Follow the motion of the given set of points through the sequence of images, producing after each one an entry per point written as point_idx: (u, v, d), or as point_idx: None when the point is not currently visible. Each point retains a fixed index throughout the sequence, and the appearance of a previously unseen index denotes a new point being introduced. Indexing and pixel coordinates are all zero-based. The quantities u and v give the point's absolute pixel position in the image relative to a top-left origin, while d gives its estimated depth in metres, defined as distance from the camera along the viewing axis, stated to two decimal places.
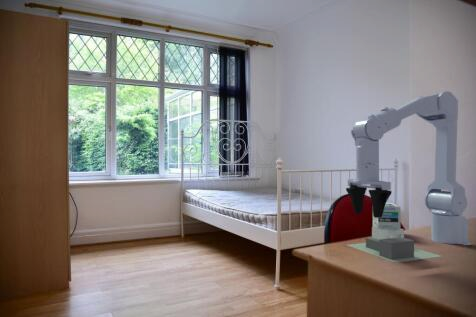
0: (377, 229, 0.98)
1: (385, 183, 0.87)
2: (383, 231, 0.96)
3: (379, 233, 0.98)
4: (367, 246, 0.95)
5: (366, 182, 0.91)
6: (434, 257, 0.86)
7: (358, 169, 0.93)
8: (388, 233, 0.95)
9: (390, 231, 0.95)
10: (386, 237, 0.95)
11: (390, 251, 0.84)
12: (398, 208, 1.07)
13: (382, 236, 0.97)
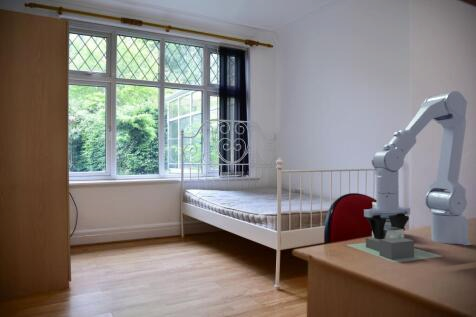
0: None
1: (364, 210, 0.97)
2: (383, 231, 0.96)
3: None
4: (367, 246, 0.95)
5: None
6: (434, 257, 0.86)
7: None
8: (388, 233, 0.95)
9: (390, 231, 0.95)
10: (386, 237, 0.95)
11: (390, 251, 0.84)
12: None
13: None
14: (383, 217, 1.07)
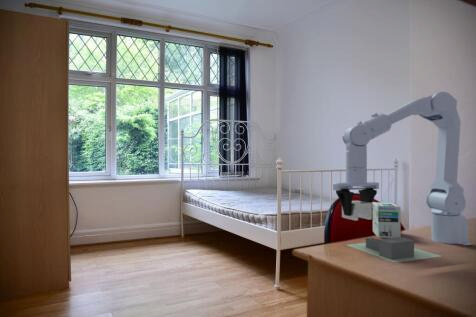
0: None
1: (333, 184, 1.00)
2: (351, 204, 0.99)
3: None
4: (367, 246, 0.95)
5: None
6: (434, 257, 0.86)
7: None
8: (356, 206, 0.98)
9: (358, 204, 0.98)
10: (354, 210, 0.98)
11: (390, 251, 0.84)
12: (398, 208, 1.07)
13: None
14: (383, 217, 1.07)
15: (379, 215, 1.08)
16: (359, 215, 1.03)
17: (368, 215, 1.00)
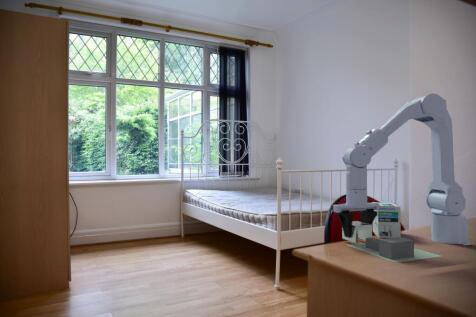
0: None
1: (333, 206, 0.99)
2: (352, 226, 0.99)
3: None
4: (367, 246, 0.95)
5: None
6: (434, 257, 0.86)
7: None
8: (356, 228, 0.97)
9: (358, 226, 0.98)
10: (354, 232, 0.98)
11: (390, 251, 0.84)
12: (398, 208, 1.07)
13: None
14: (383, 217, 1.07)
15: (379, 215, 1.08)
16: (359, 236, 1.03)
17: (368, 237, 0.99)
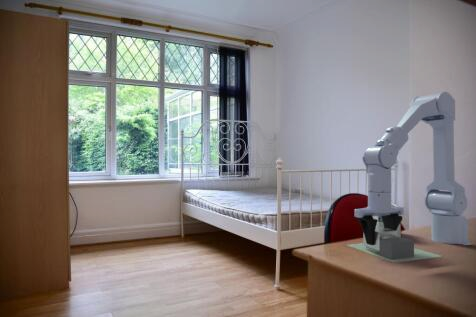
0: None
1: (355, 210, 0.91)
2: (375, 233, 0.90)
3: None
4: None
5: None
6: (434, 257, 0.86)
7: None
8: (380, 235, 0.89)
9: (382, 233, 0.89)
10: (378, 239, 0.89)
11: (390, 251, 0.84)
12: None
13: None
14: None
15: None
16: None
17: None
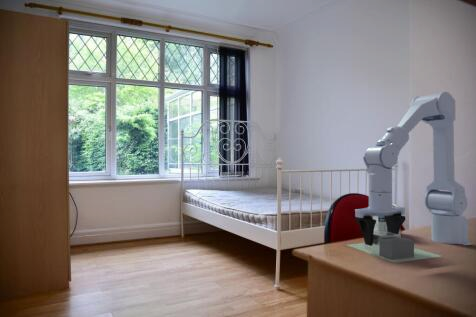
0: None
1: (355, 210, 0.90)
2: (375, 236, 0.90)
3: None
4: None
5: None
6: (434, 257, 0.86)
7: None
8: (381, 238, 0.89)
9: (383, 236, 0.89)
10: None
11: (390, 251, 0.84)
12: None
13: (374, 242, 0.90)
14: (383, 217, 1.07)
15: None
16: None
17: None
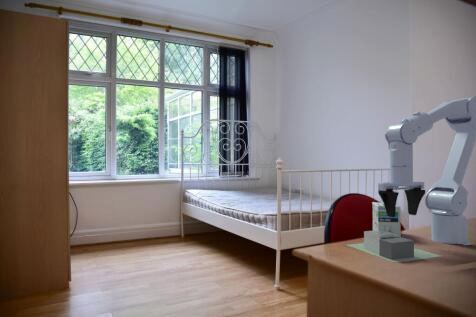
0: (369, 234, 0.92)
1: (379, 184, 0.96)
2: (375, 236, 0.90)
3: (371, 238, 0.91)
4: None
5: None
6: (434, 257, 0.86)
7: None
8: (381, 238, 0.89)
9: (383, 236, 0.89)
10: None
11: (390, 251, 0.84)
12: (398, 208, 1.07)
13: (374, 242, 0.90)
14: (383, 217, 1.07)
15: (379, 215, 1.08)
16: None
17: None
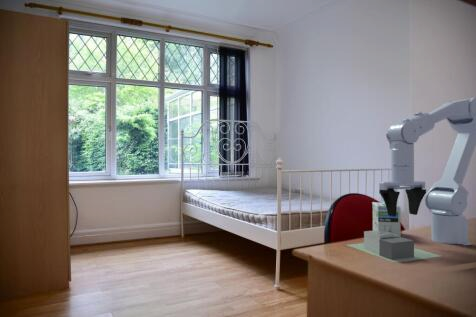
0: (369, 234, 0.92)
1: (380, 183, 0.96)
2: (375, 236, 0.90)
3: (371, 238, 0.91)
4: None
5: None
6: (434, 257, 0.86)
7: None
8: (381, 238, 0.89)
9: (383, 236, 0.89)
10: None
11: (390, 251, 0.84)
12: (398, 208, 1.07)
13: (374, 242, 0.90)
14: (383, 217, 1.07)
15: (379, 215, 1.08)
16: None
17: None
